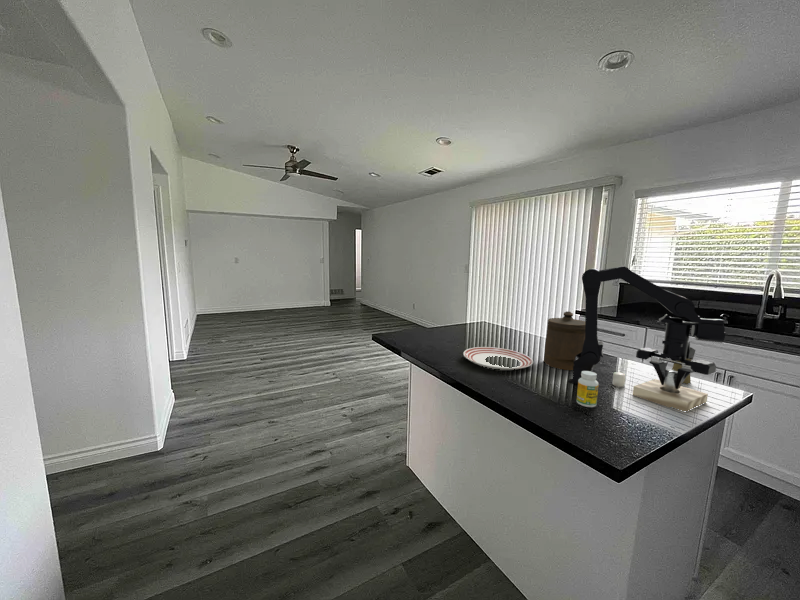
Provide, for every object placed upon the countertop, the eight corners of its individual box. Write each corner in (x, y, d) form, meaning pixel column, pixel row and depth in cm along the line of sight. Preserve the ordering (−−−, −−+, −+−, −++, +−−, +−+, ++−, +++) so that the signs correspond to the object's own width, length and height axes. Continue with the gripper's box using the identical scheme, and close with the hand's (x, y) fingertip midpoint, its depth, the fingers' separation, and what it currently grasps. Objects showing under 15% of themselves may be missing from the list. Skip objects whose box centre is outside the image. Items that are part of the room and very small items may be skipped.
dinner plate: (538, 361, 144) (539, 353, 144) (524, 380, 121) (524, 371, 121) (476, 350, 159) (476, 343, 158) (452, 365, 136) (452, 357, 135)
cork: (682, 378, 126) (686, 349, 125) (694, 384, 120) (699, 354, 119) (665, 377, 127) (668, 348, 125) (676, 383, 121) (680, 353, 119)
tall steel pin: (672, 399, 104) (676, 374, 103) (659, 395, 107) (662, 370, 106) (678, 397, 106) (681, 372, 105) (665, 392, 109) (668, 368, 108)
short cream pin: (620, 387, 116) (622, 376, 115) (610, 384, 119) (611, 373, 118) (626, 385, 117) (627, 374, 117) (615, 382, 120) (617, 371, 120)
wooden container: (590, 366, 138) (595, 312, 135) (573, 373, 129) (578, 316, 126) (554, 357, 149) (558, 307, 147) (536, 363, 140) (540, 310, 137)
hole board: (685, 412, 97) (687, 402, 97) (632, 395, 109) (633, 386, 109) (706, 403, 104) (707, 393, 104) (654, 387, 116) (655, 378, 116)
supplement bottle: (587, 399, 105) (590, 369, 104) (600, 406, 100) (604, 375, 99) (572, 400, 104) (574, 370, 103) (585, 408, 99) (588, 376, 98)
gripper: (727, 342, 100) (719, 392, 102) (655, 329, 116) (649, 373, 118) (711, 346, 95) (703, 400, 97) (637, 332, 111) (632, 378, 113)
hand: (670, 386), depth 106 cm, fingers closed on tall steel pin, 3 cm apart
